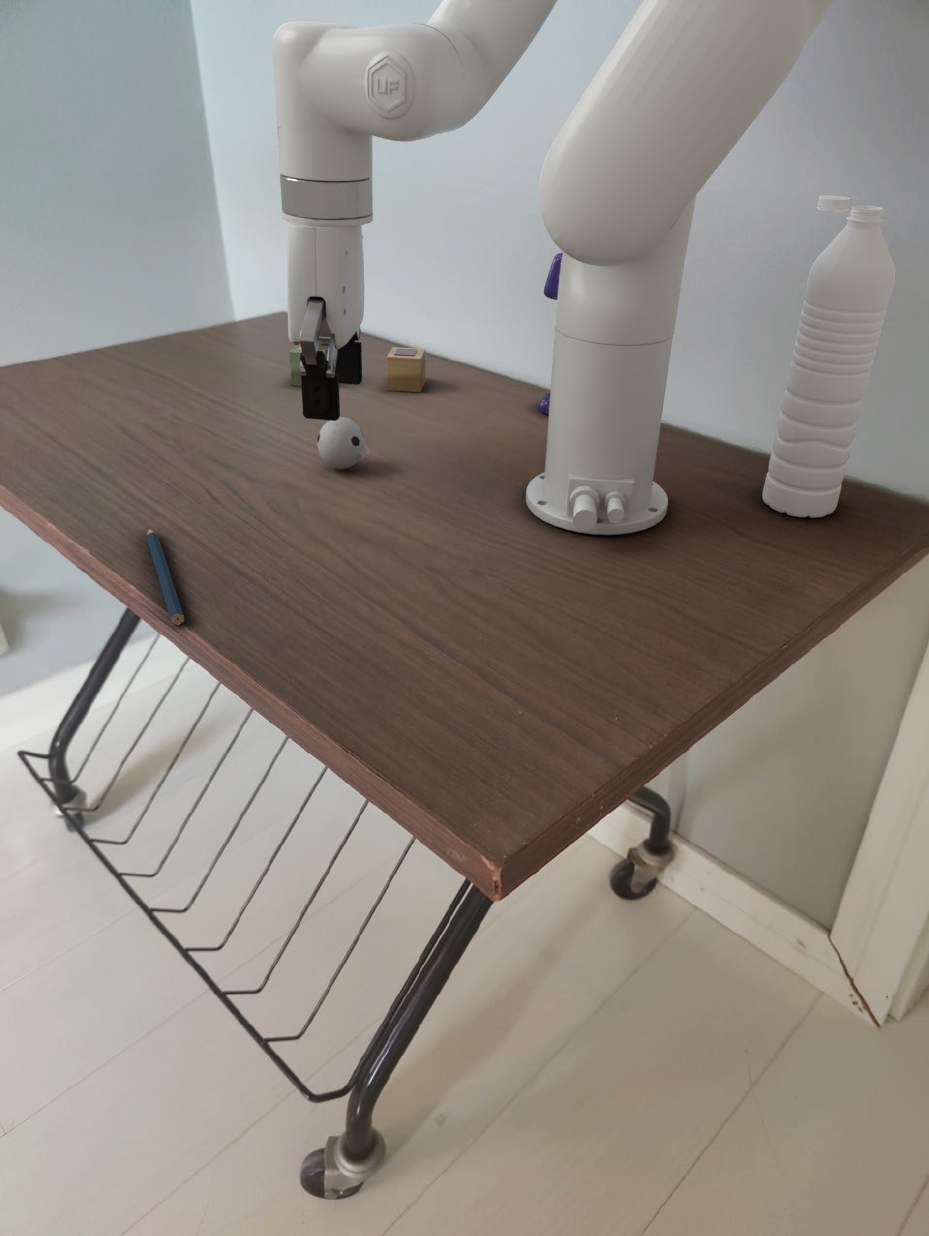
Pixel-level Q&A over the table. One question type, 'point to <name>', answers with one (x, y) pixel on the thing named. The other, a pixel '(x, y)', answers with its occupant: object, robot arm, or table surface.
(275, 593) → the table surface
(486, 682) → the table surface
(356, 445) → the figurine
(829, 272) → the water bottle
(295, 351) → the block row
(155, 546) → the pencil
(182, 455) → the table surface
